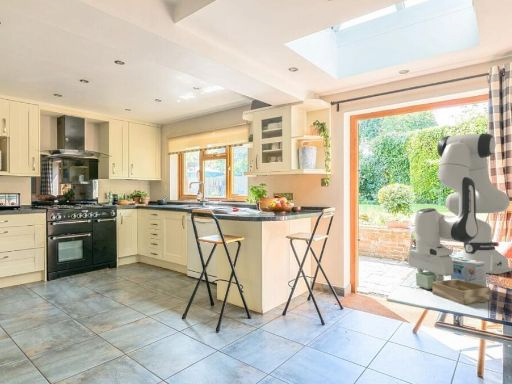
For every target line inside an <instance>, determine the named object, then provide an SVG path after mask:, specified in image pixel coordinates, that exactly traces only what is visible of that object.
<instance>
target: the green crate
mask: <svg viewBox="0 0 512 384" xmlns="http://www.w3.org/2000/svg"><path fill="white" fill-rule="evenodd" d="M436 277H437V276H436V275H435V273H433V272H429V271H423V272H422V273H418V272H417V273H415V280H416V281H415V282H416V284H415V285H416V286H418V287H421V288H424V289H426V290H431V289H432V290H433V287H432V282H434V279H436ZM440 281H445V276H442V278H441V280H440Z"/></svg>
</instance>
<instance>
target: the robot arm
mask: <svg viewBox="0 0 512 384" xmlns="http://www.w3.org/2000/svg"><path fill="white" fill-rule="evenodd" d="M496 146H497V143H496V139H495V136H493V135H492V134H490V133H485V132H484V133H483V132H482V133H464V134H457V135H456V134H455V135H447V136H444V137H441V138H440V139H439V141H438V143H437V148H436V149H437V154H438V156H440V157H441V158H440V162H439V167H438V171H437V178H438V181H439V182H440V184H442V185H443V186H444V187H446V188H449V189H451V190H453V191H454V192H452V193H449V194H448V195H447V196H446V198H445V206H446V208H447V210H448V211H450V212H451V214H454V215H444V214H442V213H440V212H438V210H437V209H436V208H432V207H430V208H422V209H419V210H417V211H416V213H415V216H414V217H415V218H414V227H415V228H414V230H415V233H416V234H415V235H416V238H415V244H414V245H411V246H410V247H409V251H408V257H407V259H408V260H407V261H408V265H409V267H410V268H411V267H412V268H415V269H416V270H417V273H422V272H433V273H435V275H436V276H437V277H436V279H434V282H438V281H440V280H441V278H442V276H444V277H449V276H450V277H451V275H452V274H453V260H452V259H453V257H452V255H453V250H451V248H449V247H447V246H445V245H444V244H442V243H441V239H444V240H445V239H446V240H451V241H456V242H461V243H463V248H464V250H463V254H462V255H463V256H462V258H463V259H469V260H475V261H481V262H485V263H486V274H494V275H500V274H504V273H508V272H509V273H510V272H512V266H509V263H508V259H507V256H505V255H504V254H502V253H501V252H499V251H498V250H497V249H496V247H499V246H500V243H499V242H497V241H496V242H495V241H493V239H492V238H493V236H492V227H491V225H490V224H489V223H488V222H486V221H484V220H482V219H479V218H477V214H496V213H502V212H505V211H507V210H508V208H509V207H510V203H511V202H510V198H509V196H508V195H507V194H506V192H504V191H502V190H501V189H498V188H497V187H496V186H494V184H493V183H492V182H491V179H490V175H489V165H488V164H489V163H488V157H490V156H491V155H492V154H494V152H495V149H496ZM455 191H456V192H455Z"/></svg>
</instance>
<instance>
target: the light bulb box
mask: <svg viewBox="0 0 512 384" xmlns="http://www.w3.org/2000/svg"><path fill="white" fill-rule="evenodd" d="M452 260H453V274H452V275H450V280H454V279H459V280H463V281H467V282H470V283H474V284H478V285H481V286H485V287H488V286H487V273H486V263H485V262H481V261H475V260H469V259H463V257H462V258H461V257H459V258H458V257H457V258H454V259H453V258H452Z"/></svg>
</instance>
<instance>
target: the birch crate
mask: <svg viewBox="0 0 512 384" xmlns="http://www.w3.org/2000/svg"><path fill="white" fill-rule="evenodd" d="M432 287H433V289H432V295H435V296H438V297H441V298H443V299H446V300H449V301H452V302H455V303H458V304H460V305H471V304H478V303H483V302H490V301H492V297H491V295H492V294H491V287H488V286H487V287H485V286H481V285H478V284H474V283H470V282H467V281H463V280H459V279H454V280H451V279H448V280H444V281H438V282H432Z"/></svg>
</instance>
